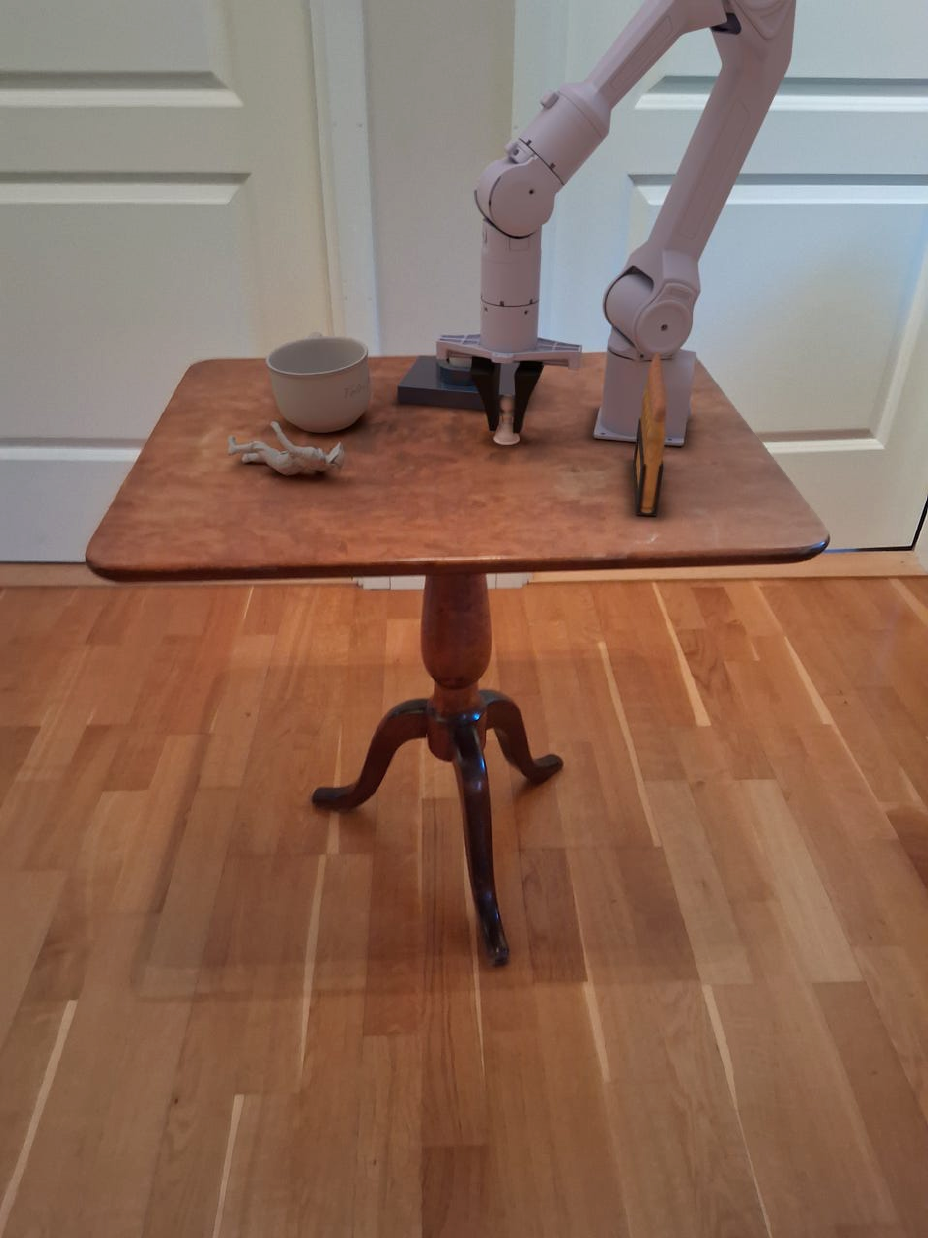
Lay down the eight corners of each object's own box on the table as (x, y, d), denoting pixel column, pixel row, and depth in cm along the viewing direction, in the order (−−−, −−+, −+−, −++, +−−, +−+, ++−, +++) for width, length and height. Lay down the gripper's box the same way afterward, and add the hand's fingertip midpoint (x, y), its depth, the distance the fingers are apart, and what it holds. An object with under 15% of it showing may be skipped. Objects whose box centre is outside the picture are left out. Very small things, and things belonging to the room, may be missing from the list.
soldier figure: (264, 456, 95) (363, 435, 90) (263, 499, 94) (362, 481, 89) (216, 428, 88) (320, 404, 83) (214, 474, 87) (319, 453, 82)
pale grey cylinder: (486, 357, 105) (486, 343, 104) (479, 370, 102) (479, 355, 101) (453, 355, 106) (453, 340, 105) (445, 367, 103) (445, 352, 102)
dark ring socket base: (531, 381, 109) (532, 348, 107) (517, 414, 101) (518, 379, 99) (419, 372, 111) (418, 340, 109) (398, 403, 103) (396, 370, 101)
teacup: (367, 443, 95) (362, 369, 90) (265, 442, 95) (255, 369, 91) (380, 392, 106) (375, 324, 102) (289, 391, 106) (280, 324, 102)
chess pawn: (490, 444, 95) (491, 399, 92) (496, 433, 97) (497, 389, 94) (517, 447, 94) (518, 402, 91) (521, 436, 96) (523, 391, 93)
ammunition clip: (656, 517, 82) (674, 392, 75) (636, 516, 82) (652, 391, 75) (651, 464, 91) (667, 348, 84) (633, 463, 91) (647, 347, 84)
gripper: (427, 305, 85) (430, 438, 93) (580, 315, 82) (569, 451, 90) (444, 284, 90) (446, 411, 98) (588, 293, 88) (577, 422, 96)
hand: (506, 428), depth 95 cm, fingers closed on chess pawn, 2 cm apart
